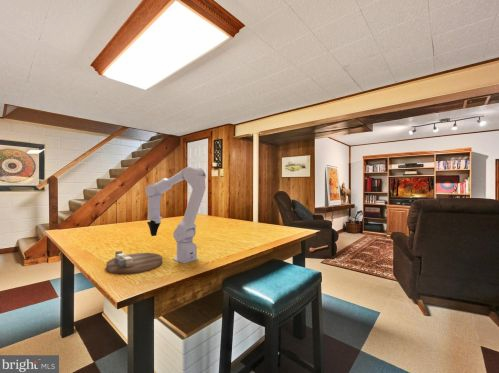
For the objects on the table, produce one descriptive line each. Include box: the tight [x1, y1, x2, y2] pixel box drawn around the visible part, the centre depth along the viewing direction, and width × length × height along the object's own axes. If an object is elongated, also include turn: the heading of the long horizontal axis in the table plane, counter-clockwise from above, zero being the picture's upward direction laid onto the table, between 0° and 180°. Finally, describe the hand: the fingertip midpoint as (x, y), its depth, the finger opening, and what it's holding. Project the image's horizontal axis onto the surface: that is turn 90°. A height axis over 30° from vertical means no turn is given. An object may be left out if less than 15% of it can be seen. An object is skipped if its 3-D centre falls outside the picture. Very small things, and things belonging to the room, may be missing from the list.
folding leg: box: [114, 250, 133, 267], centre depth 99 cm, size 13×3×4 cm, turn 48°
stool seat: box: [105, 252, 163, 275], centre depth 103 cm, size 22×22×5 cm
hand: (153, 235), depth 119 cm, fingers closed
